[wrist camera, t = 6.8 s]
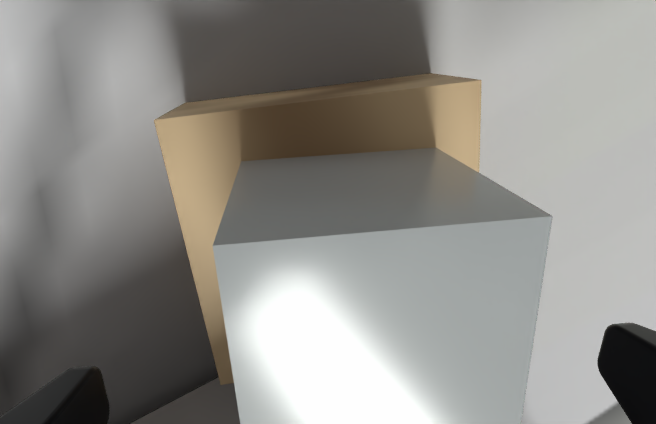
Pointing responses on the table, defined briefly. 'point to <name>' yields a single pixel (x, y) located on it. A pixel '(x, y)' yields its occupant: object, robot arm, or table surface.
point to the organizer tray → (199, 407)
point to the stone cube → (378, 290)
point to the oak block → (299, 150)
